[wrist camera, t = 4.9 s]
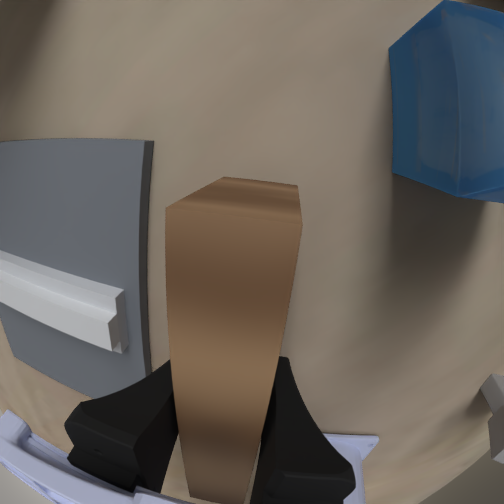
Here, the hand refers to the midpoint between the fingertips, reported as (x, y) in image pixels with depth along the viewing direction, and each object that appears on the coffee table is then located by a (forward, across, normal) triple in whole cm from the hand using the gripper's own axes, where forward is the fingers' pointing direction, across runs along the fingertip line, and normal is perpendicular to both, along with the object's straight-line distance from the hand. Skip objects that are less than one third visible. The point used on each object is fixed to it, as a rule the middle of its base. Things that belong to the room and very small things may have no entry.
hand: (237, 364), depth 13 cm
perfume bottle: (+4, -8, -13) cm, 16 cm away
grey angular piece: (+4, -20, +3) cm, 21 cm away
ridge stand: (+3, +14, +1) cm, 14 cm away
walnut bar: (+2, 0, 0) cm, 2 cm away
